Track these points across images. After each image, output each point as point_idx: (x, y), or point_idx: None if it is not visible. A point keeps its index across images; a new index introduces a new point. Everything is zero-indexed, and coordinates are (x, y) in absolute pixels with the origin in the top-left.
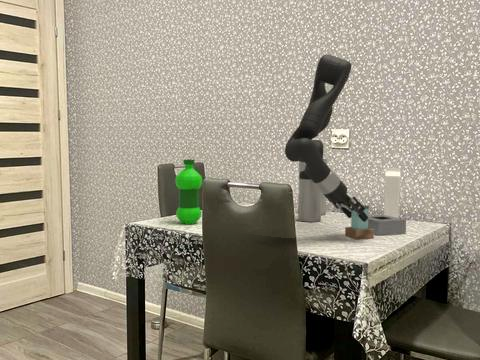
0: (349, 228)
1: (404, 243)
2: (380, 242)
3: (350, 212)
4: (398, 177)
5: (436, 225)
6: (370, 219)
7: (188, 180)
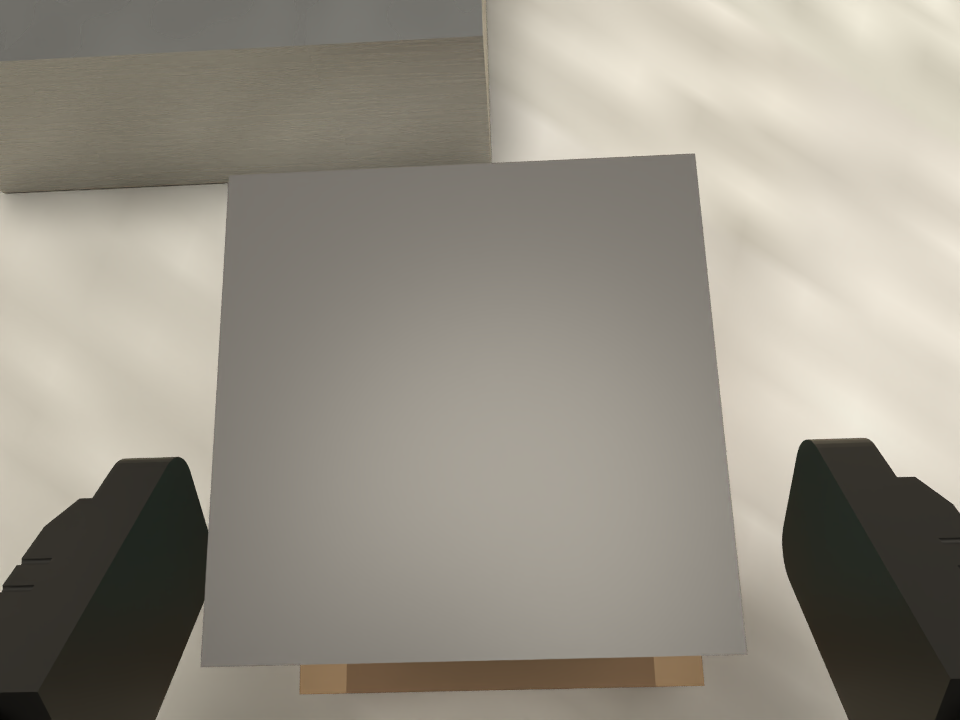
0: (445, 690)
1: None
2: (945, 422)
3: (150, 552)
4: None
5: None
6: (232, 49)
7: None
